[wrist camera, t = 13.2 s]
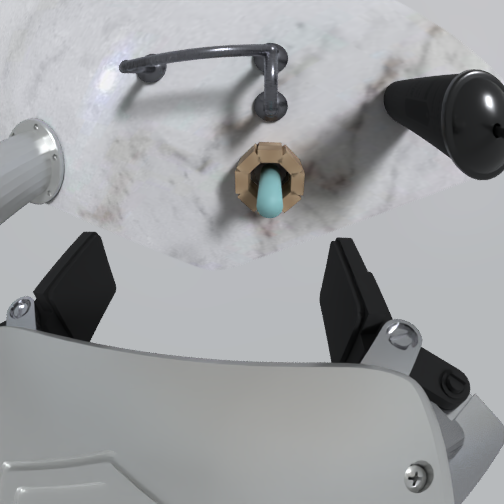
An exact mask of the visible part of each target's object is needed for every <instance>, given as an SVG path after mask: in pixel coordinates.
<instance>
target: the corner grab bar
mask: <svg viewBox="0 0 504 504" xmlns="http://www.w3.org/2000/svg"><path fill="white" fill-rule="evenodd" d="M237 56H254V62H255V64H256V66H257V67H258V68H259V69H260V70H262V71H263V72H264V92H262V93H261V94H259V95H258V96H257V98H256V100H255V103H254V108H255V111H256V113H257V115H258V116H259V117H260V118H262V119H263V120H266V121H276V120H279V119H281V118H282V117H283V116H284V115H285V114H286V111H287V107H288V105H287V101H286V99H285V97H284V96H283V95H282V94H281V93H279V92H278V72H279V71H281V70H282V69H283V68H284V67H285V66H286V64H287V62H288V55H287V52H286V51H285V49H284V48H283V47H281V46H280V45H278V44H274V43H267V44H250V45H226V46H213V47H202V48H194V49H186V50H179V51H172V52H166V53H161V54H149V55H147V56H145V57H141V58H137V59H132V60H124V61H122V62H121V64H120V65H119V70H120V72H122V73H137V74H138V77H139V78H140V79H141V80H142V81H144V82H155V81H157V80H159V79H160V78H162V76H163V75H164V74H165V71H166V64H167V63H174V62H181V61H188V60H197V59H207V58H219V57H237Z"/></svg>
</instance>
